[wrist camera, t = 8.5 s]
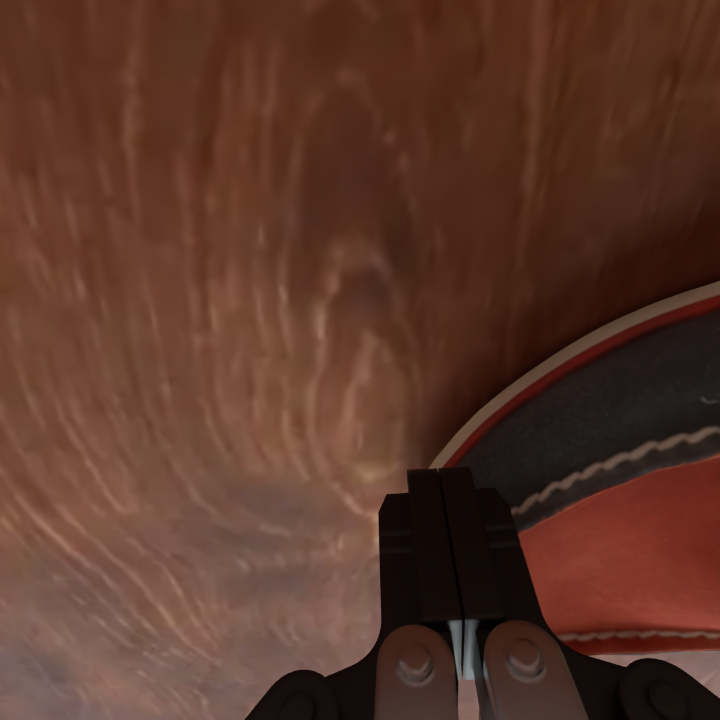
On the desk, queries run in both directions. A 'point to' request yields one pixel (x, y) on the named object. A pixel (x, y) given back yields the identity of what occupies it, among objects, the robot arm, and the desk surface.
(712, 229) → the desk surface
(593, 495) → the boat shoe
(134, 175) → the desk surface
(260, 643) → the desk surface
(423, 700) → the robot arm
